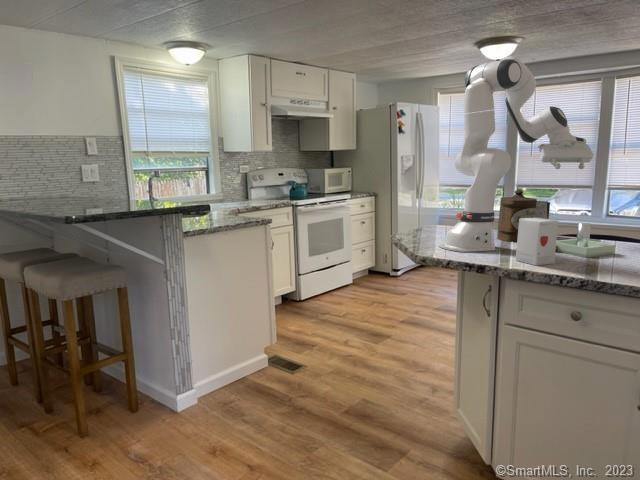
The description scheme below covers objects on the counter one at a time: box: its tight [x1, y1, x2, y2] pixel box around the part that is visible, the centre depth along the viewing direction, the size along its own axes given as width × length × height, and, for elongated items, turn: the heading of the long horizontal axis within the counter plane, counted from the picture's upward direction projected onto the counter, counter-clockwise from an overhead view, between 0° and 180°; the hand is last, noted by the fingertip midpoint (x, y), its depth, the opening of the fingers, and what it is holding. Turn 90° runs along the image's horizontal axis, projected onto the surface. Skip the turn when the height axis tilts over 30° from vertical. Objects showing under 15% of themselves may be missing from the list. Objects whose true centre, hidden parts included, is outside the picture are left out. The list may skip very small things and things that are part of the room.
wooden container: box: [496, 188, 538, 243], centre depth 204 cm, size 15×15×22 cm
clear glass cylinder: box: [576, 222, 592, 247], centre depth 178 cm, size 4×4×10 cm
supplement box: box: [515, 218, 559, 266], centre depth 160 cm, size 9×9×15 cm
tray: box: [556, 238, 616, 258], centre depth 179 cm, size 16×15×4 cm
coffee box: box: [535, 200, 551, 219], centre depth 213 cm, size 9×6×16 cm
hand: (570, 168), depth 192 cm, fingers open, 8 cm apart
